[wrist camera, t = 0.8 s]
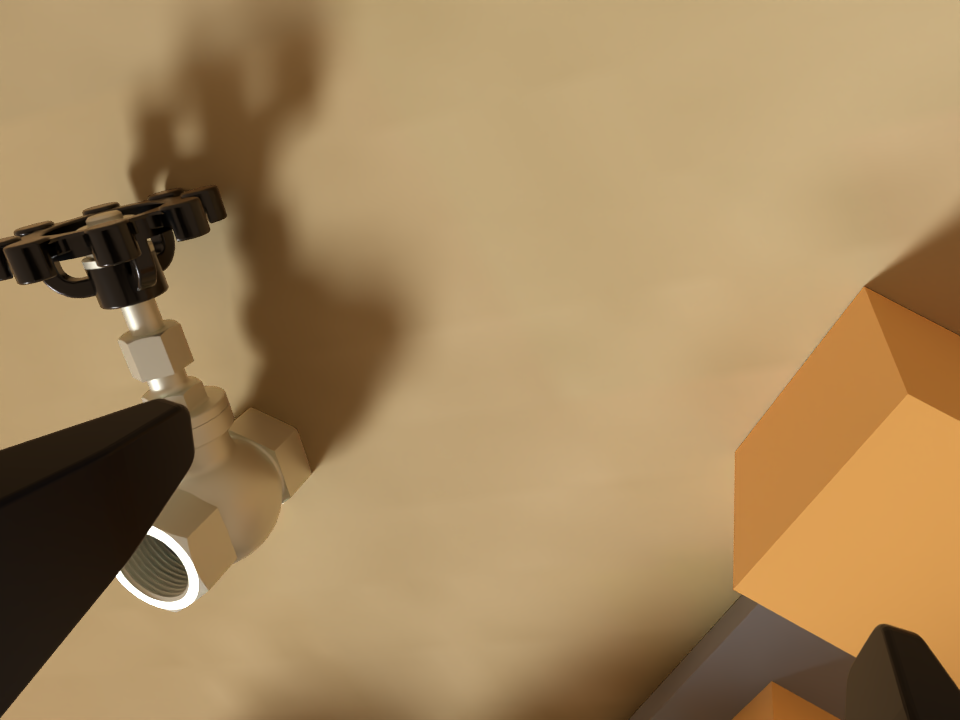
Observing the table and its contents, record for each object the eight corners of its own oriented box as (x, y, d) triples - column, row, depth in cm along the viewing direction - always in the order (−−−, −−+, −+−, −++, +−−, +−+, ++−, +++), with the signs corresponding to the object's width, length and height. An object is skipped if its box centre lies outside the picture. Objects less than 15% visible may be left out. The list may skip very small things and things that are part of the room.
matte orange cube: (919, 551, 22) (973, 722, 17) (735, 452, 23) (733, 589, 17) (1081, 398, 19) (1206, 550, 14) (864, 286, 20) (908, 393, 14)
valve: (360, 497, 28) (260, 173, 24) (264, 627, 22) (108, 232, 18) (214, 497, 30) (98, 201, 26) (94, 614, 25) (-82, 261, 20)
